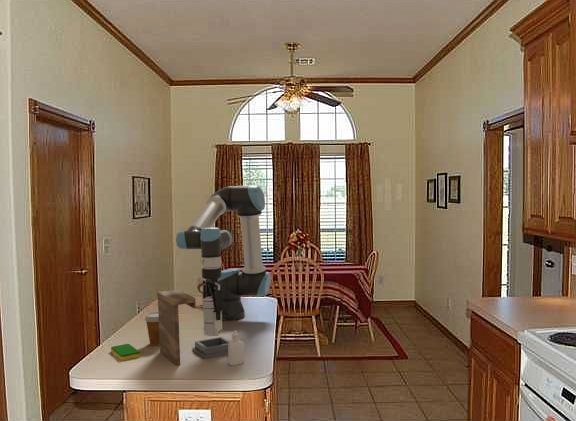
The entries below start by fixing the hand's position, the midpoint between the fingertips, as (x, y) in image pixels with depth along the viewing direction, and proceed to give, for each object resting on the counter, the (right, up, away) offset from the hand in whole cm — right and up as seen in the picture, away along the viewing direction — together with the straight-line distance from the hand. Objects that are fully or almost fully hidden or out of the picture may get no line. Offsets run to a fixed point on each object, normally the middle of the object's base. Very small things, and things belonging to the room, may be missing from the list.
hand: (213, 325), depth 206 cm
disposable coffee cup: (-25, -10, +13) cm, 30 cm away
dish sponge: (-34, -12, 0) cm, 36 cm away
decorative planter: (-11, -6, +85) cm, 86 cm away
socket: (0, -10, +1) cm, 10 cm away
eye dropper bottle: (+10, -11, -14) cm, 21 cm away
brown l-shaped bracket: (-13, -11, -5) cm, 17 cm away
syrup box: (0, -3, 0) cm, 3 cm away
